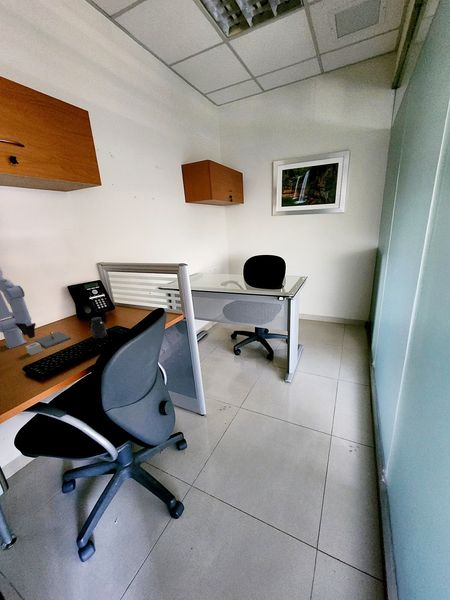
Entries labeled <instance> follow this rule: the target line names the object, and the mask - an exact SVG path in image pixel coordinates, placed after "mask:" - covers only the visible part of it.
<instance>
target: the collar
mask: <svg viewBox="0 0 450 600" xmlns="http://www.w3.org/2000/svg"><path fill="white" fill-rule="evenodd" d="M25 349H26V352H27V354H29V355H30V356H34V355H36V354H39V353H41V352H43V351H44V350H43V348H42V345H41V344H39V343H38V342H36V341H35V342H33V343H30V344H28V345H25Z"/></svg>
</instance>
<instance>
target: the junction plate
mask: <svg viewBox="0 0 450 600" xmlns="http://www.w3.org/2000/svg"><path fill="white" fill-rule="evenodd" d="M69 340H71V336H69V335H67V334H64V333H63V332H61V331H57V332H54V333H53V331H50V332H49V334H48V335H45V336H43V337H39V338H37V339H35V342H37V343H39V344H40V345H41V346H43V347H44V348H46V349H49V348H52V347H54V346H56V345H59V344H61V343H63V342H66V341H69Z"/></svg>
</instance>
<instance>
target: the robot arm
mask: <svg viewBox="0 0 450 600" xmlns="http://www.w3.org/2000/svg"><path fill="white" fill-rule="evenodd" d="M3 275H4V274H3V270H2V268H1V267H0V333H2V334H3V336H4V340H5V342H6V343H4V345H5V346H6V347H7V348H9V349H14V348H15V347H18V346H21V345H23V344H24V345H25V344H28V341H27V340H26V339H24V336H27V337H28V338H29V339H33V338H35V337H36V334H35V330H36V326H37V324H36V323H35V322H34V323H33V322H32V317H31V315H30V313H29V310H28V309H29V308H28V306H27V304H26V301H25V290H24V289H23V288H22V286H21V285H15V284H14V283H13V282H12V281H11V280H10V279H7V278H5V277H4V276H3ZM2 294H3V295H2ZM3 296H4V297H3ZM4 298H5V299H4ZM6 302H7V303H6ZM7 304H8V305H9V306H10V309H11V311H10V310H9V307H8V305H7ZM23 335H24V336H23Z"/></svg>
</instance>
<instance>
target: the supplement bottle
mask: <svg viewBox="0 0 450 600" xmlns="http://www.w3.org/2000/svg"><path fill="white" fill-rule="evenodd" d="M90 322H91V324H90V330H91V333H92V337H93V339H94V338H95V339H97V338H103V337H105V336H106V335H107V334H108V333H107V329H106V324H105V322H104V321H102V318H101V317H100V316H96V317H93V318H91V320H90ZM107 336H108V335H107Z"/></svg>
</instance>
